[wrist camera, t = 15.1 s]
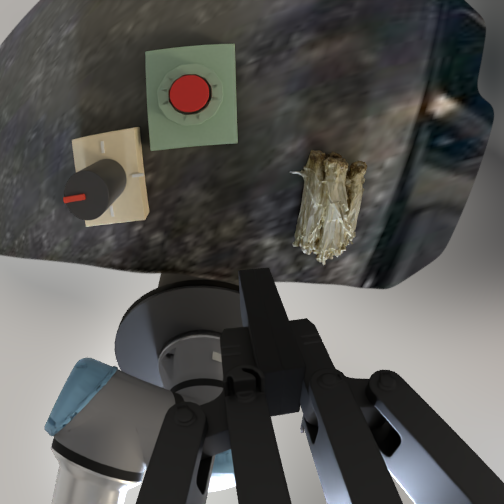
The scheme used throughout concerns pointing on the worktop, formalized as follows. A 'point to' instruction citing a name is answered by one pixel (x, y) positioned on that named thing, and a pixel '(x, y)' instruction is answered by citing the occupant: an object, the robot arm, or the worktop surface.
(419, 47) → the worktop surface
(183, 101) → the switch button
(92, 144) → the dial panel
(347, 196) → the mushroom
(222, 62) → the switch base
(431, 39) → the worktop surface
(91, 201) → the dial
